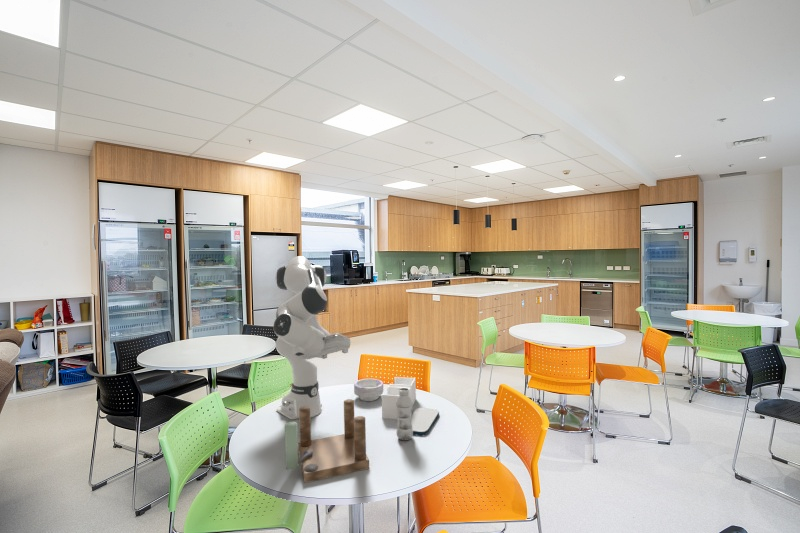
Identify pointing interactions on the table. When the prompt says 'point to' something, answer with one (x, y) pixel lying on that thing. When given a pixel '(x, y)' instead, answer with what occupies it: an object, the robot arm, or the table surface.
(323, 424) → the table surface
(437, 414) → the external hard drive
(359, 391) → the light grey bowl
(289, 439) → the green piece
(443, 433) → the table surface
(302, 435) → the stool
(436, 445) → the table surface
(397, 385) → the storage container
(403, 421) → the plastic bottle
